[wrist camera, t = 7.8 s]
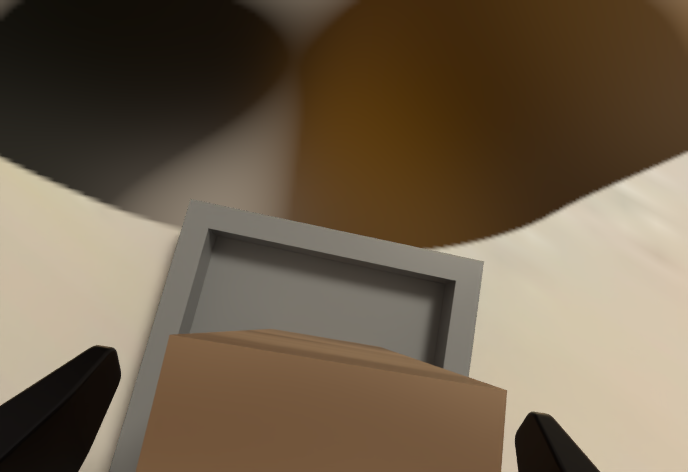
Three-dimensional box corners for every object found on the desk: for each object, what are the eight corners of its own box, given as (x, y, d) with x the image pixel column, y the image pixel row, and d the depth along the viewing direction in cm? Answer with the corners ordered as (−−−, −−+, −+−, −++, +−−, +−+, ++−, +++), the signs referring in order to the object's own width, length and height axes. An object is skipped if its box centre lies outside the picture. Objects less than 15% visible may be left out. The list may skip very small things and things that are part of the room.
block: (363, 464, 16) (475, 819, 5) (248, 446, 16) (63, 761, 4) (379, 346, 17) (507, 390, 6) (271, 328, 17) (169, 334, 5)
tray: (418, 596, 16) (434, 637, 14) (112, 534, 16) (80, 566, 14) (465, 268, 19) (483, 261, 17) (205, 213, 19) (190, 199, 17)
